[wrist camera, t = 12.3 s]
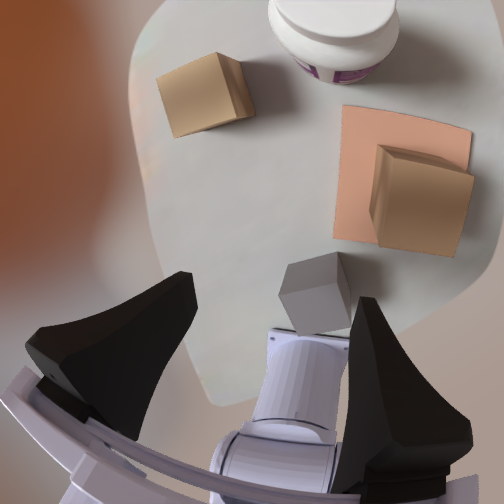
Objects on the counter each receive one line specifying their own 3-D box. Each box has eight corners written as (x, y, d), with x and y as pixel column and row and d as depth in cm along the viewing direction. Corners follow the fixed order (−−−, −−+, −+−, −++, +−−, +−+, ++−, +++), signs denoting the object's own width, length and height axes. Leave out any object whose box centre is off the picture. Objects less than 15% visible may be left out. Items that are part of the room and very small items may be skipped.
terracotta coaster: (444, 249, 17) (447, 253, 16) (333, 234, 19) (333, 238, 19) (467, 130, 13) (471, 131, 12) (342, 105, 15) (342, 105, 14)
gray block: (350, 292, 21) (351, 327, 18) (305, 303, 23) (298, 336, 20) (337, 250, 20) (336, 282, 16) (288, 264, 22) (278, 295, 18)
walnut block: (428, 220, 16) (453, 257, 12) (368, 211, 17) (379, 246, 13) (440, 156, 14) (474, 176, 10) (376, 144, 15) (394, 157, 11)
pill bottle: (377, 20, 11) (414, -49, 3) (373, 92, 14) (420, 76, 6) (292, 8, 12) (252, -68, 4) (288, 79, 15) (242, 50, 7)
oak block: (255, 114, 17) (236, 117, 13) (203, 131, 18) (174, 138, 15) (239, 61, 15) (216, 51, 12) (187, 81, 16) (155, 79, 13)
